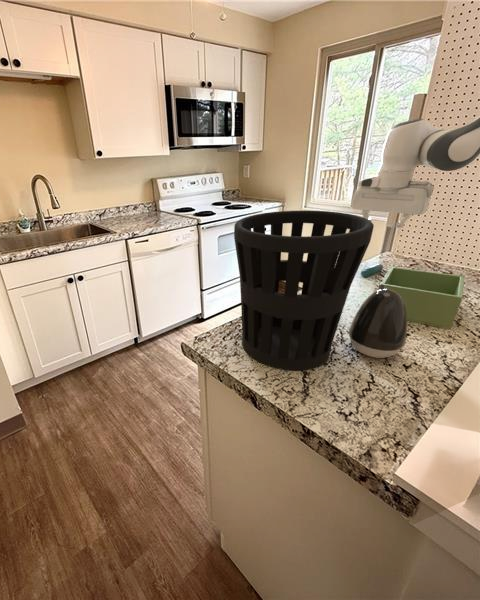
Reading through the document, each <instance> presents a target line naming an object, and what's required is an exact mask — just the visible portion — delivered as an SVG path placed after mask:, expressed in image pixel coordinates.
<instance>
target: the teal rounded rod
mask: <svg viewBox="0 0 480 600" xmlns="http://www.w3.org/2000/svg"><path fill="white" fill-rule="evenodd" d="M383 269H384V266H383V264H381V263H377V264H374V265H371V266H370V267H368V268H365V269H363V270H361V272H360V275H361V277H363V278H367V277H369V276H372V275H374V274H376V273H379V272H381V271H382V270H383Z"/></svg>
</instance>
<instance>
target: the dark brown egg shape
mask: <svg viewBox="0 0 480 600" xmlns="http://www.w3.org/2000/svg"><path fill="white" fill-rule="evenodd" d="M380 284H381V283H380ZM380 284H379V285H378V286H377V287H378V289H376V290H375V291H374V292H372V293H371V294H370V295H368V297H367V298H366V299H365V300H364V301H363V302H362V304H361V305H360V307H359V308H358V310H357V311H356V313H355V315H354V317H353V318H352V321H351V323H350V325H349V328H348V336H349V340H350V343H351V345H352V346H353V348H354V349H355V350H356V351H358V352H359V353H361V354H362V355H365V356H367V357H370V358H377V359H385V358H389V357H392V356H394V355H396V354H397V353H399V351H400V350H401V349H402V348H404V347H405V345H406V343H407V335H408V320H407V314H406V308H405V304H404V302H403V299H402V298H401V296H400V295H399V294H398V293H397V292H395V291H393V290H390V289H385V286H384V285H382V284H381V285H380Z"/></svg>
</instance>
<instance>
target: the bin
mask: <svg viewBox="0 0 480 600" xmlns="http://www.w3.org/2000/svg"><path fill="white" fill-rule="evenodd" d="M465 278H466V276H465V275H457V274H449V273H443V272H436V271H435V272H434V271H427V270H420V269H413V268H405V267H398V266H397V267H396V266H390V268H389V269H388V270H387V272H386V274H385V276H384V277H383V279H382V280H381V282H380V283H379V285H381V284H382V285H384V286H385V289H390V290H393V291H395V292H397V293H398V294H399V295H400V296H401V298H402V299H403V302H404V304H405V308H406V314H407V321H409V322H414V323H418V324H422V325H427V326H432V327H436V328H441V329H445V330H451V328H452V326H453V323H454V321H455V318H456V316H457V313H458V310H459V308H460V306H461V303H462V300H463V296H464V287H465Z"/></svg>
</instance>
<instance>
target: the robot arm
mask: <svg viewBox="0 0 480 600" xmlns="http://www.w3.org/2000/svg"><path fill="white" fill-rule="evenodd" d="M479 155H480V115H479V116H478V117H476V118H475V119H474V120H472V121H470V122H469V123H467V124H465V125H462V126H460V127H457V128H454V129H445V128H441V127H439V126H435V125H433V124H431V123H429V122H427V121H426V120H425V119H424V118H415V119H410V120H407V121H406V120H405V121H403V122H399V123H397V124H395V125H393V126H392V127H391V128H390V129H389V131H388V133H387V135H386V138H385V141H384V144H383V148H382V152H381V163H380V166H379V167H378V170H377V174H376V175H371V176H369V177H367V178H363V179H360V180H359V181H358V183H357V187H358V188H357V189H355V191H354V193H353V196H352V199H351V200H352V201H351V208H352V209H353V210H357V211H358V210H359V211H361V215H362V217H363V218H366V219H368V220H370V221H371V222H372V219H373V218H372V217H370V216H369V215H370V214H369V213H370V212H381V213H393V214H402V219H401V220H400V221H396V223H395V228H396V229H403V228H404V226H405V223H406V222H407V221H408V220H409V219H410V218H411V217H412V215H413V216H418V215H419V216H421V215H423V214H426V212H428V211H429V206H430V203H431V202H430V201H431V197H432V195H433V193H434V189H435V186H434V184H433V183H431V182H430V181H428V180H422V181H421V180H420V181H419V180H413V178H414V174H415V170H416V168H417V167H418V166H422V167H427V168H433V169H437V170H439V171H443V172H453V171H457V170H461V169H463V168H464V167H466V166H468V165H470V164H471V163H473V162H474V161H475V160H476V159H477V158H478V157H479Z"/></svg>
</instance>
